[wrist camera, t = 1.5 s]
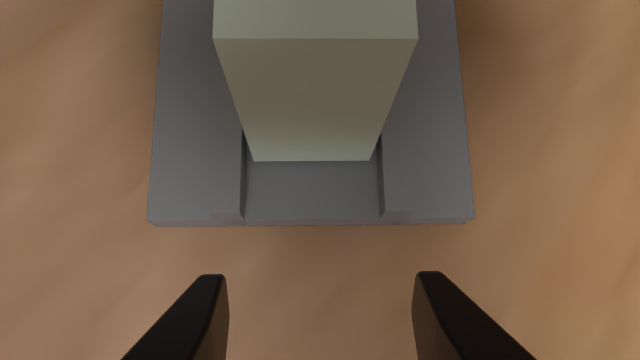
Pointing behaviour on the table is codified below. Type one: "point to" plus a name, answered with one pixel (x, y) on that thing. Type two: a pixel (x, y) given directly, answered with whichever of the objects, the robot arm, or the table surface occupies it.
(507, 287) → the table surface
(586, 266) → the table surface
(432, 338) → the robot arm
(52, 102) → the table surface
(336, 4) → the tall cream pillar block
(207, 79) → the track
